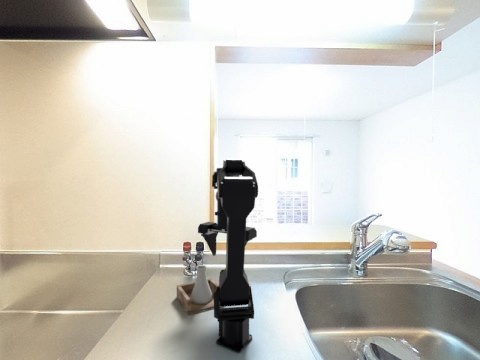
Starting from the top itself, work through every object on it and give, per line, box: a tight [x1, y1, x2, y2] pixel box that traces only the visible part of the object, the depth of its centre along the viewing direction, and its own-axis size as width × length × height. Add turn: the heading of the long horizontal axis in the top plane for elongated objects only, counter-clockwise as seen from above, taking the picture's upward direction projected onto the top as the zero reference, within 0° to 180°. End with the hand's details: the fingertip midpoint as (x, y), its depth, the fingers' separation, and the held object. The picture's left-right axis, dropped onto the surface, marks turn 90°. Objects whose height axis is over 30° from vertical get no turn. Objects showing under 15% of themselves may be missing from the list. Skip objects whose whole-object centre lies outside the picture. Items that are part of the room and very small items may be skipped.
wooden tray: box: [176, 277, 220, 316], centre depth 81 cm, size 12×12×4 cm
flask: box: [190, 264, 213, 304], centre depth 80 cm, size 7×7×10 cm
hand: (226, 257), depth 82 cm, fingers open, 9 cm apart
